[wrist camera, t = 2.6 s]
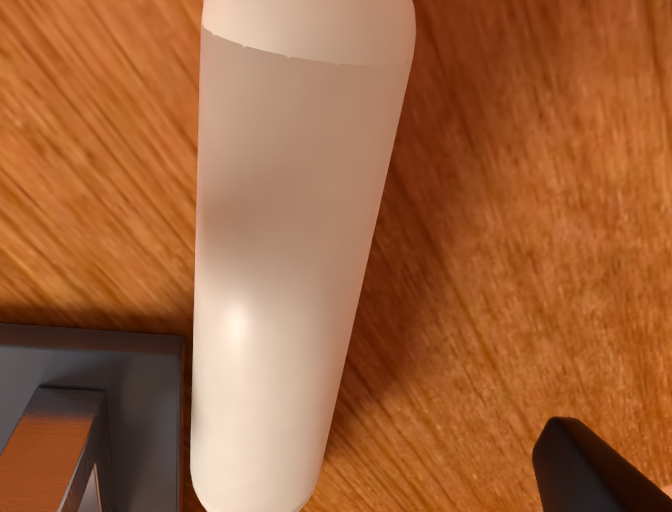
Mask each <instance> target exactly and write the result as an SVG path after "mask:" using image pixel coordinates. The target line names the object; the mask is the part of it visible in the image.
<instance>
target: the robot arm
mask: <svg viewBox="0 0 672 512" xmlns="http://www.w3.org/2000/svg"><path fill="white" fill-rule="evenodd" d="M532 462H533V467H534V471H535V476H536V480H537V484H538V489H539V493H540V497H541V502H542V506H543V511H544V512H672V499H671V498H670V497H669V496H668V495H666V494H665V493H664V492H663V491H662V490H661V489H659V488H658V487H657V486H656V485H655V484H654V483H652V482H651V481H650V480H649V479H648V478H647V477H645V476H644V475H643V474H642V473H641V472H640V471H638V470H637V469H636V468H635V467H634V466H633V465H631V464H630V463H629V462H628V461H627V460H626V459H624V458H623V457H622V456H621V455H620V454H618V453H617V452H616V451H615V450H614V449H613V448H611V447H610V446H609V445H608V444H607V443H606V442H604V441H603V440H602V439H601V438H600V437H599V436H597V435H596V434H595V433H594V432H593V431H592V430H590V429H589V428H588V427H587V426H586V425H585V424H583V423H582V422H581V421H580V420H578V419H576V418H572V417H556V416H555V417H552V418H550V419H549V420H548V421H547V423H546V425H545V427H544V429H543V431H542V432H541V434H540V436H539V438H538V440H537V442H536V444H535V446H534V448H533V452H532Z"/></svg>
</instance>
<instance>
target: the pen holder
mask: <svg viewBox="0 0 672 512" xmlns="http://www.w3.org/2000/svg"><path fill="white" fill-rule="evenodd" d="M184 397H185V338H184V336H182V335H168V334H154V333H140V332H126V331H112V330H98V329H84V328H70V327H56V326H42V325H28V324H15V323H1V322H0V512H183V467H184Z"/></svg>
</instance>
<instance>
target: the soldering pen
mask: <svg viewBox="0 0 672 512" xmlns="http://www.w3.org/2000/svg"><path fill="white" fill-rule="evenodd" d="M415 40H416V21H415V9H414V5H413V1H412V0H204V5H203V13H202V21H201V44H200V85H199V125H198V166H197V207H196V248H195V288H194V329H193V370H192V410H191V451H190V470H191V477H192V482H193V487H194V490H195V492H196V494H197V497H198V498H199V500H200V502H201V504H202V505H203V506H204V508H205V509H206V510H207V512H299V511H300V510H301V509H302V507H303V506H304V505H305V504H306V503H307V502H308V500H309V499H310V497H311V495H312V493H313V492H314V489H315V487H316V484H317V481H318V478H319V475H320V471H321V466H322V462H323V457H324V453H325V448H326V444H327V439H328V435H329V430H330V426H331V422H332V417H333V413H334V408H335V404H336V399H337V395H338V390H339V386H340V381H341V377H342V372H343V368H344V364H345V359H346V355H347V350H348V346H349V341H350V337H351V332H352V328H353V323H354V319H355V314H356V310H357V306H358V301H359V297H360V292H361V288H362V283H363V279H364V274H365V270H366V265H367V261H368V256H369V252H370V248H371V243H372V239H373V234H374V230H375V225H376V221H377V216H378V212H379V207H380V203H381V199H382V194H383V190H384V185H385V181H386V176H387V172H388V167H389V163H390V158H391V154H392V149H393V145H394V141H395V136H396V132H397V127H398V123H399V118H400V114H401V109H402V105H403V100H404V96H405V91H406V87H407V83H408V78H409V74H410V69H411V65H412V60H413V55H414V47H415Z"/></svg>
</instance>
